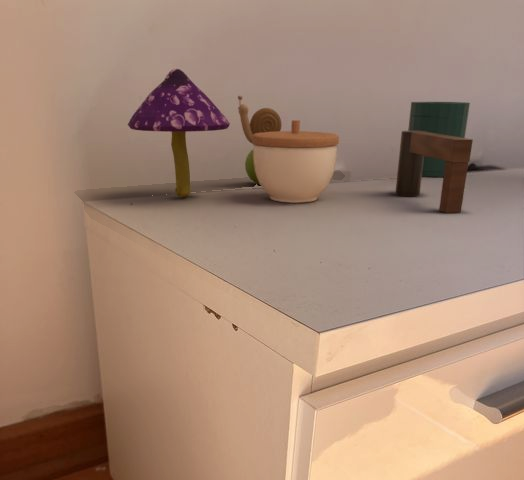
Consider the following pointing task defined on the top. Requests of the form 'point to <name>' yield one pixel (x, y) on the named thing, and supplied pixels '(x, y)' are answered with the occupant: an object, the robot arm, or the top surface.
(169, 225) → the top surface
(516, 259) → the top surface
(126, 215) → the top surface
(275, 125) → the snail figurine
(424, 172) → the jar
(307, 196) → the trinket box
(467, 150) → the brown wooden arch
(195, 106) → the decorative mushroom
